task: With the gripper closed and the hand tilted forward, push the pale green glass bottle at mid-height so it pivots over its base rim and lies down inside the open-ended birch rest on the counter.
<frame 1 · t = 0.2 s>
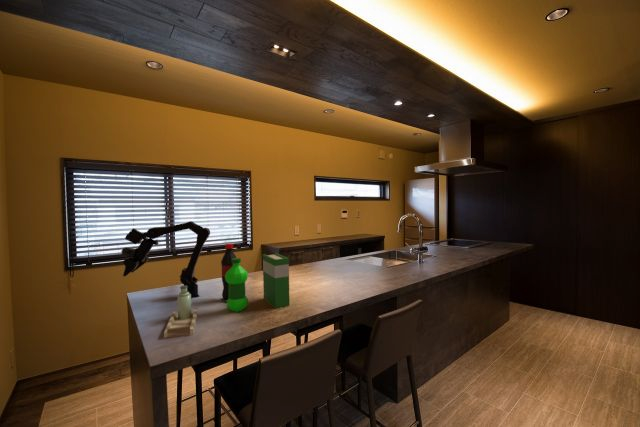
hand: (127, 274, 155), 15 cm above the counter, tool tilted 30°, fingers open, 9 cm apart
cola bottle: (230, 299, 157), on the counter
green cereal box: (276, 302, 152), on the counter
plastic bottle: (237, 310, 141), on the counter
rest: (184, 318, 132), on the counter
glass bottle: (184, 317, 132), resting on rest
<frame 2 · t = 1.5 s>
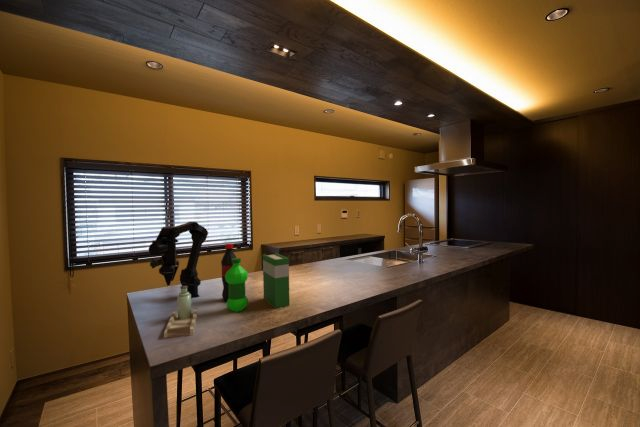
hand: (170, 283, 147), 12 cm above the counter, tool pointing down, fingers open, 9 cm apart
nothing on the counter moved.
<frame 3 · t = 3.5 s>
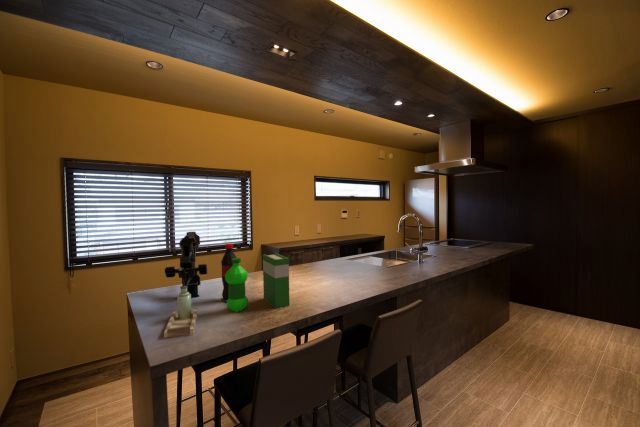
hand: (185, 285, 139), 13 cm above the counter, tool tilted 45°, fingers closed
nothing on the counter moved.
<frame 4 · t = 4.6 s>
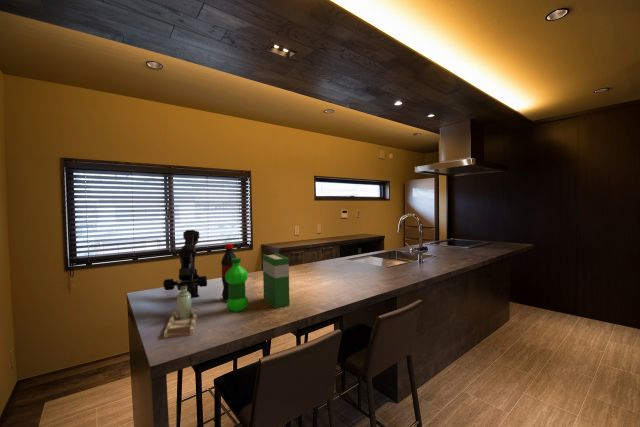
hand: (184, 299, 134), 8 cm above the counter, tool tilted 45°, fingers closed
glass bottle: (184, 316, 132), point 1 cm above the counter, touching gripper, rest
everything else where it was.
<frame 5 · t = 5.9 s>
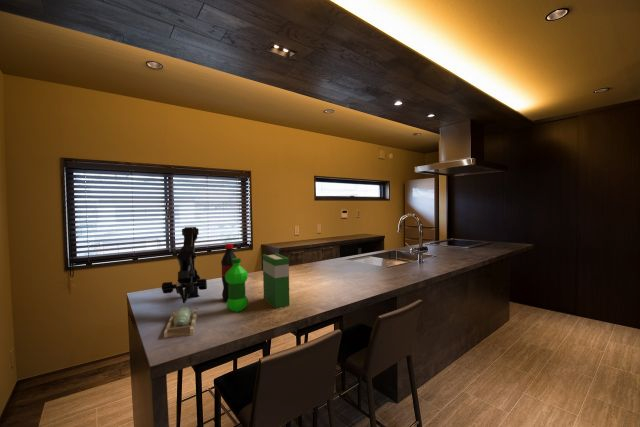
hand: (184, 302, 130), 8 cm above the counter, tool tilted 45°, fingers closed
glass bottle: (183, 313, 130), point 3 cm above the counter, tilted 90°, touching rest
everything else where it was.
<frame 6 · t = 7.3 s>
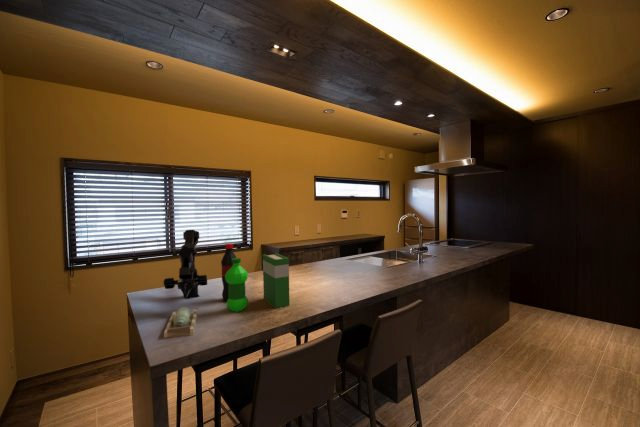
hand: (185, 298, 135), 8 cm above the counter, tool tilted 45°, fingers closed
nothing on the counter moved.
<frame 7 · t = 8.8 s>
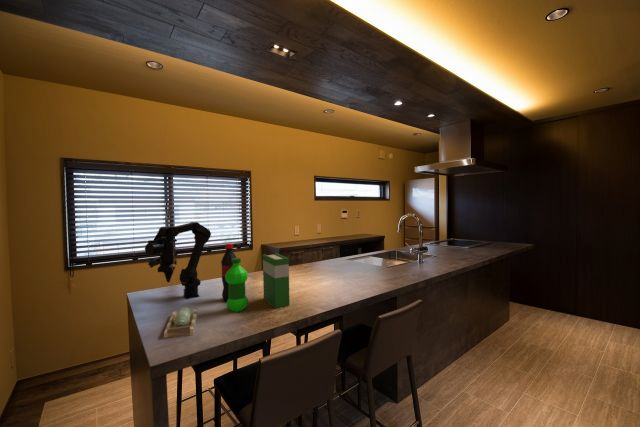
hand: (168, 282, 149), 12 cm above the counter, tool pointing down, fingers closed
nothing on the counter moved.
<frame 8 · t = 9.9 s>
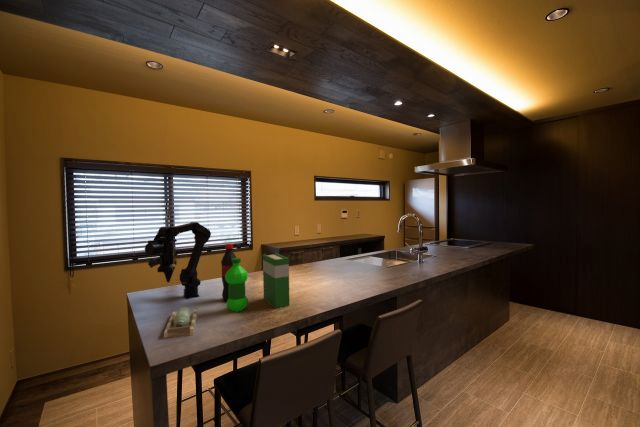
hand: (168, 282, 149), 12 cm above the counter, tool pointing down, fingers closed
nothing on the counter moved.
at the end: glass bottle tilted 90°; glass bottle inside the target area on the rest (0.2 cm from its centre), point 3.3 cm above the rest's base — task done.
